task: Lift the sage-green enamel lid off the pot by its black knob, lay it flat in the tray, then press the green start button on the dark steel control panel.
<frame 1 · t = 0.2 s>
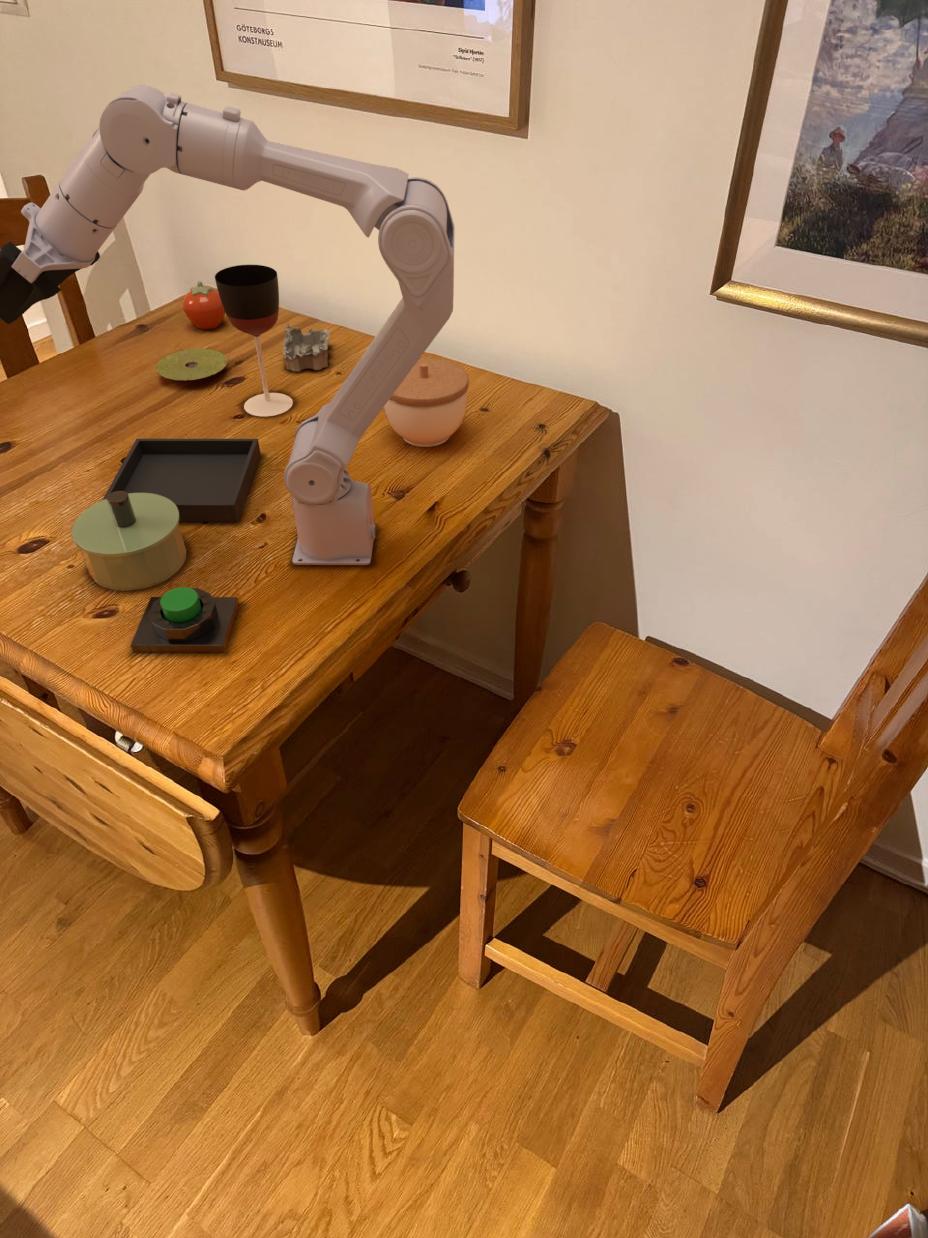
hand: (18, 301, 87), 31 cm above the table, tool tilted 45°, fingers open, 7 cm apart
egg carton: (308, 358, 146), on the table
tomato: (208, 326, 156), on the table
lidded bowl: (426, 435, 127), on the table
start button: (180, 604, 94), point 4 cm above the table, slide at 0.1 cm
wineglass: (268, 405, 134), on the table
lid: (127, 525, 102), point 5 cm above the table, touching pot
panel: (187, 628, 97), on the table
tray: (187, 487, 117), on the table
mat: (194, 375, 142), on the table
pot: (138, 560, 105), on the table
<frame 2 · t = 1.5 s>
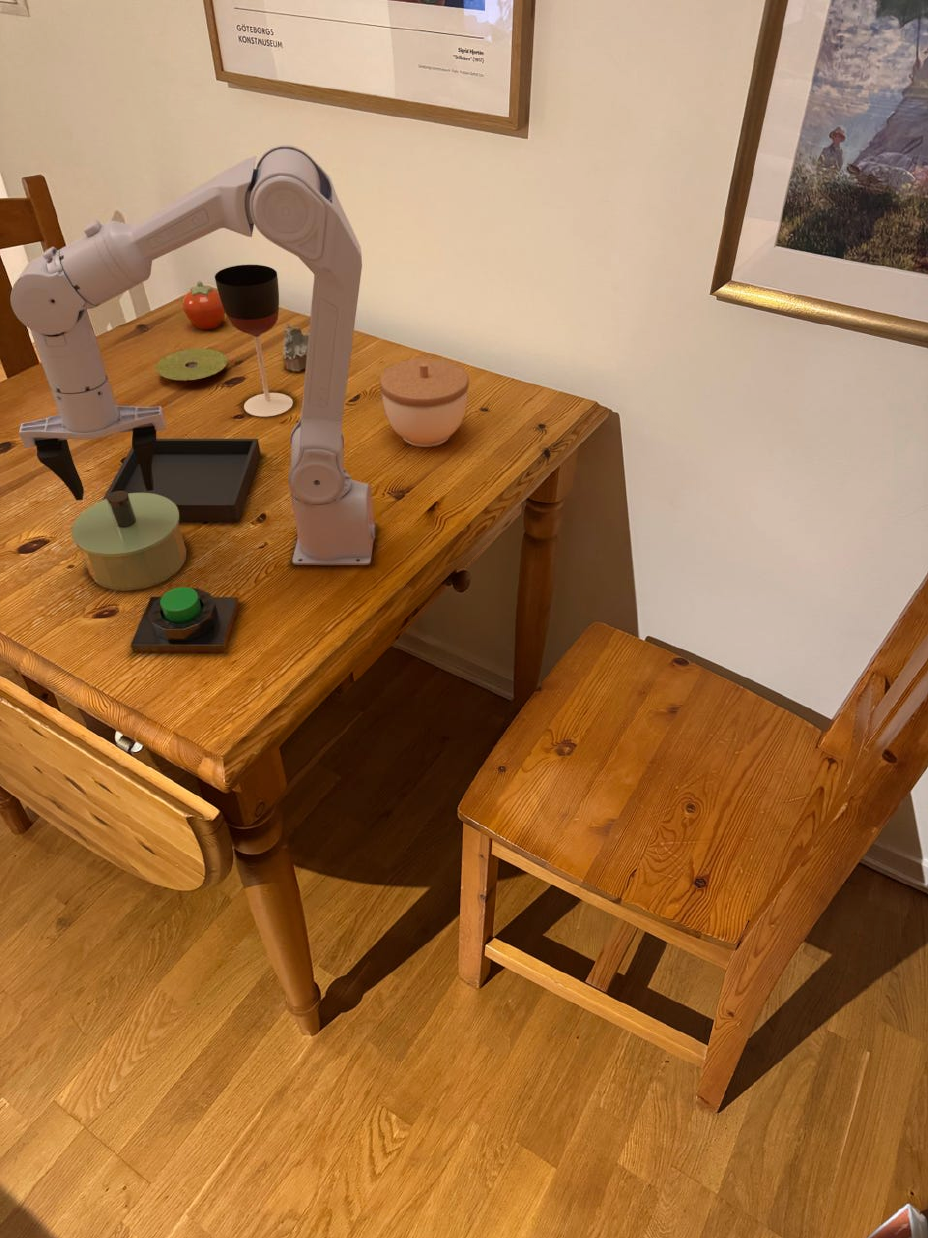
hand: (115, 490, 99), 10 cm above the table, tool pointing down, fingers open, 7 cm apart
nothing on the table moved.
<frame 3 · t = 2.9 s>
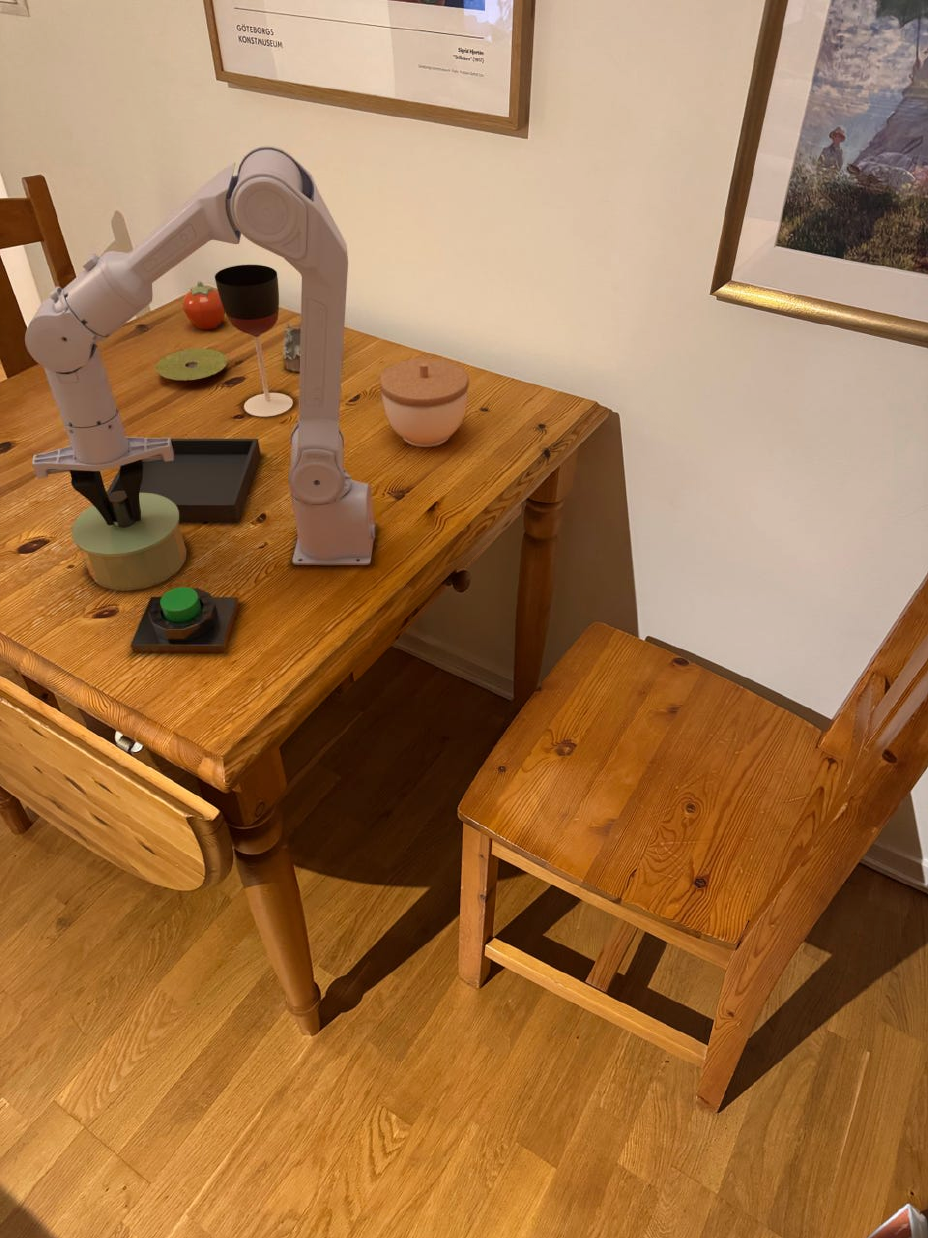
hand: (124, 518, 101), 6 cm above the table, tool pointing down, fingers closed on lid, 2 cm apart
lid: (126, 525, 102), point 5 cm above the table, touching gripper, pot
everything else where it was.
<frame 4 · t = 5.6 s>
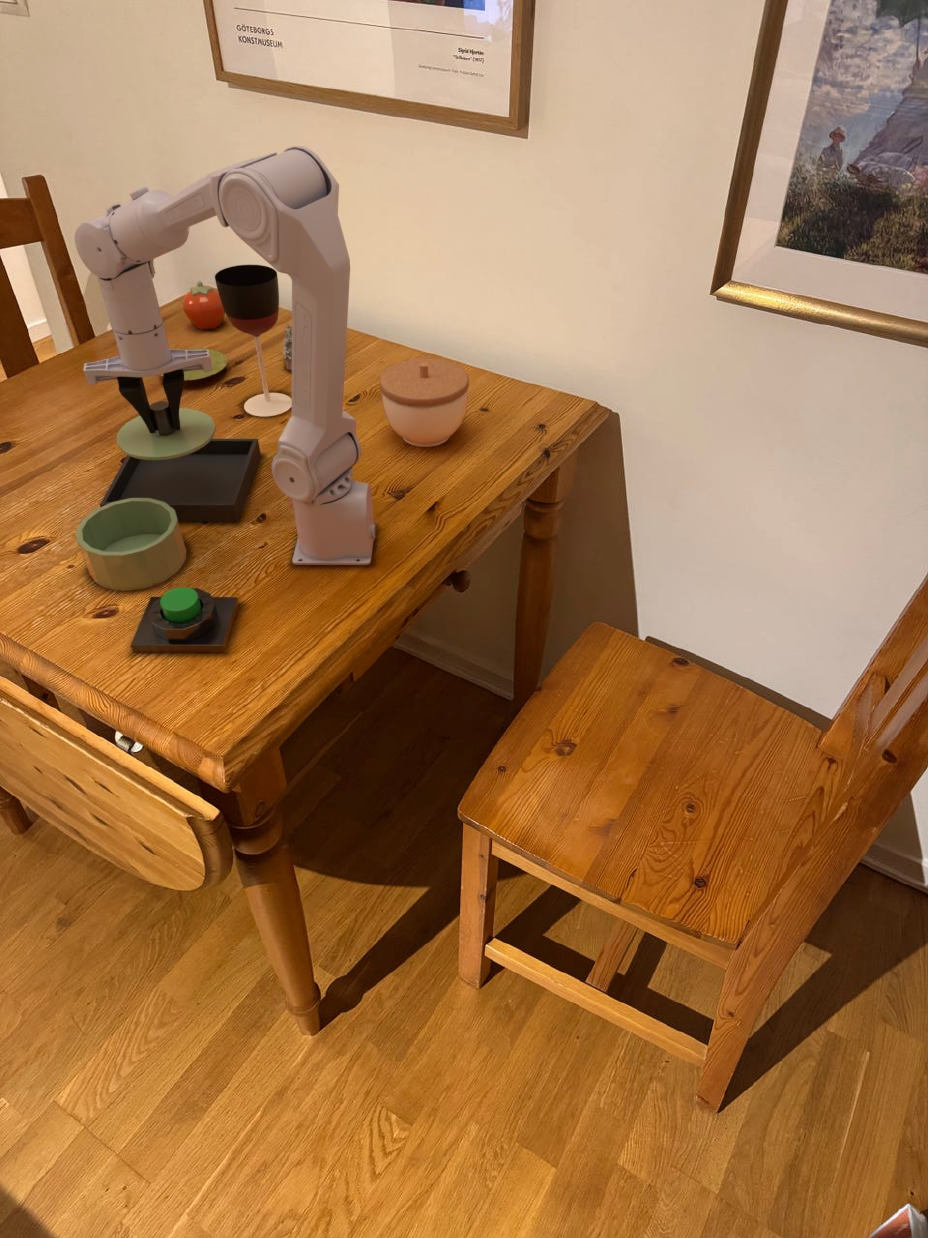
hand: (165, 427, 109), 10 cm above the table, tool pointing down, fingers closed on lid, 2 cm apart
lid: (167, 434, 110), point 9 cm above the table, touching gripper
everything else where it was.
when the fingers open (2 cm above the table, at t = 8.1 s): lid stays where it is, resting on tray.
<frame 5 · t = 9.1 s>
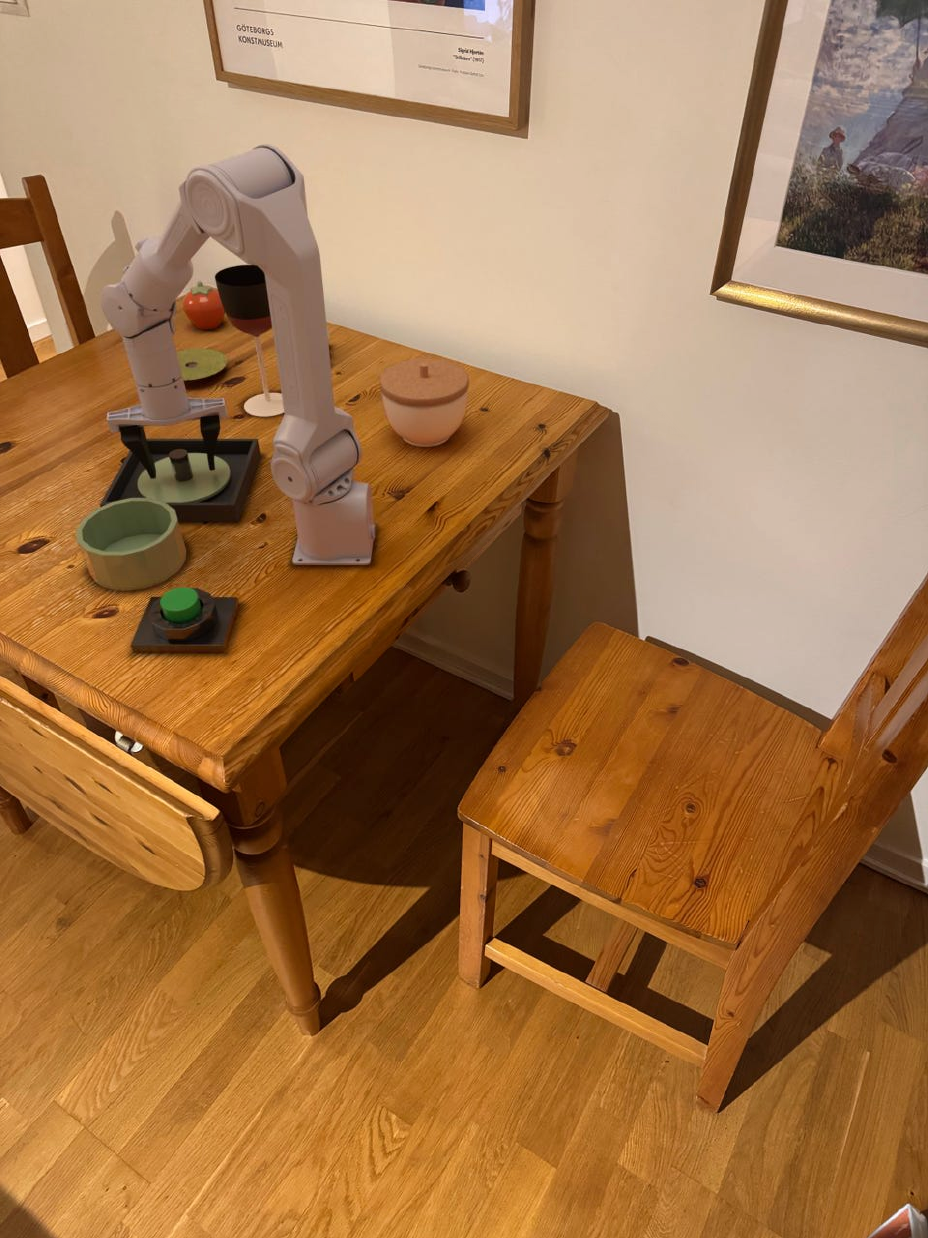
hand: (182, 470, 115), 3 cm above the table, tool pointing down, fingers open, 7 cm apart
lid: (185, 479, 116), point 1 cm above the table, touching tray
everything else where it was.
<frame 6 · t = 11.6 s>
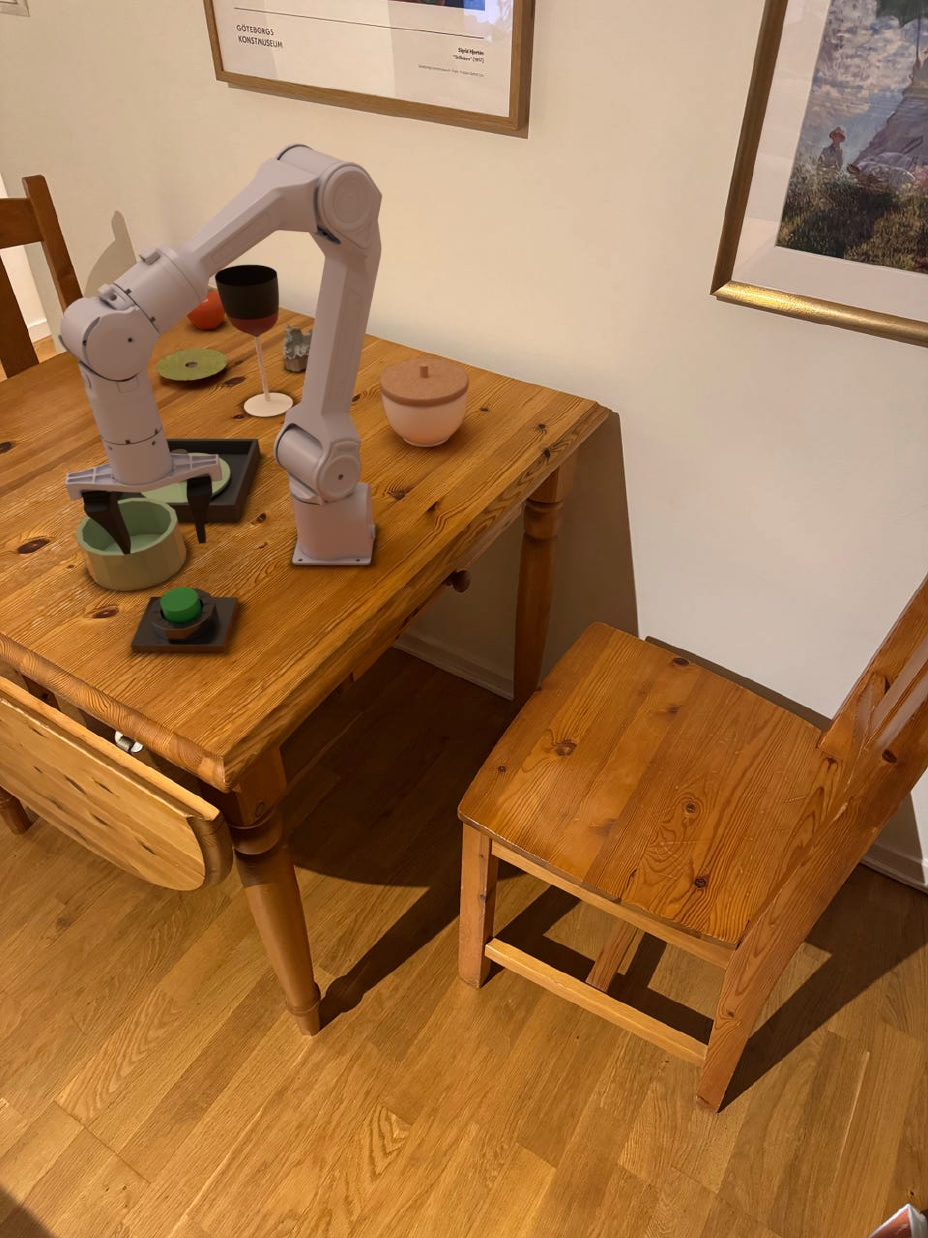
hand: (165, 543, 91), 10 cm above the table, tool pointing down, fingers open, 7 cm apart
nothing on the table moved.
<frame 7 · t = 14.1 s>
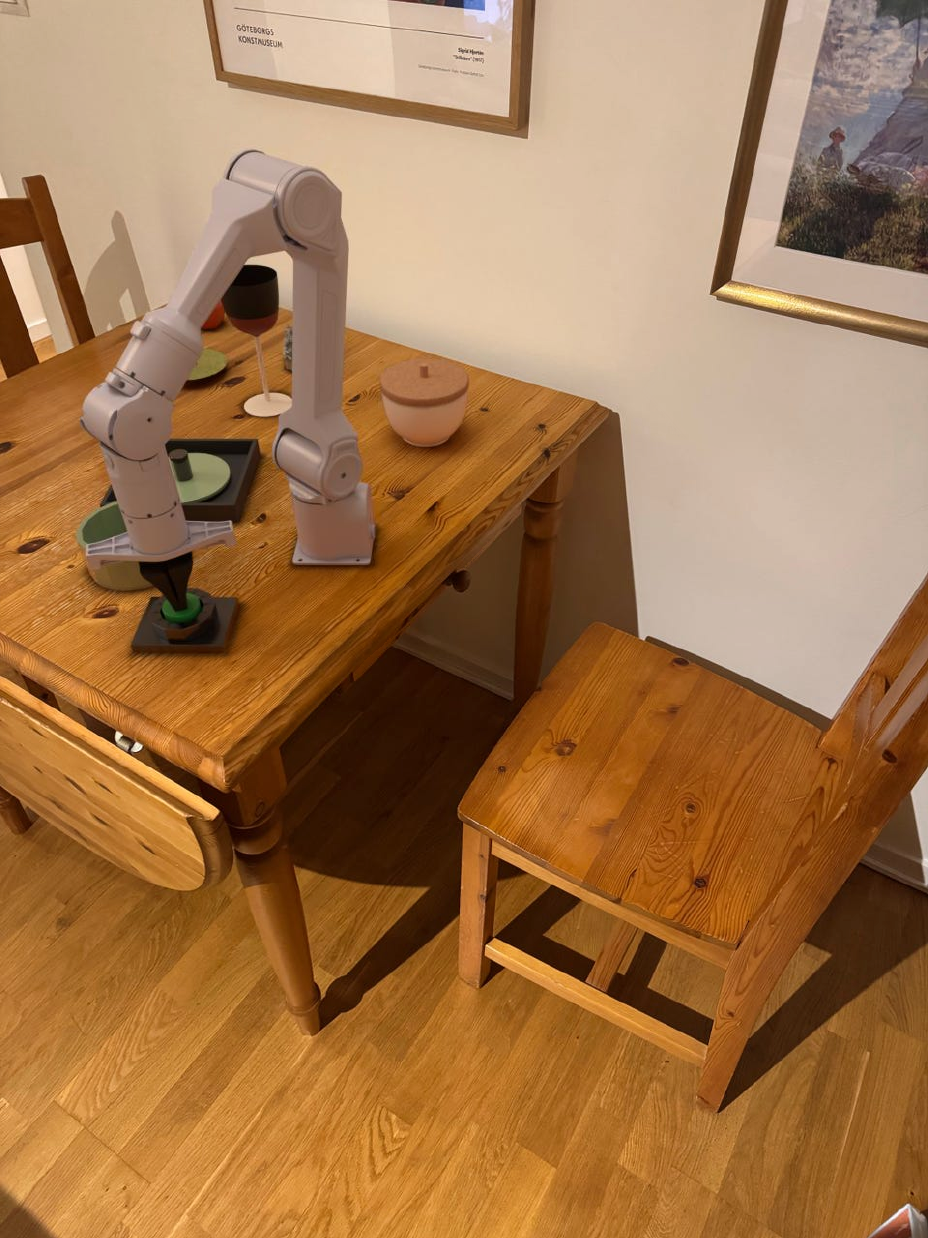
hand: (180, 604, 94), 3 cm above the table, tool pointing down, fingers closed, pressing on start button
start button: (182, 610, 95), point 3 cm above the table, slide at -0.7 cm, touching gripper
everything else where it was.
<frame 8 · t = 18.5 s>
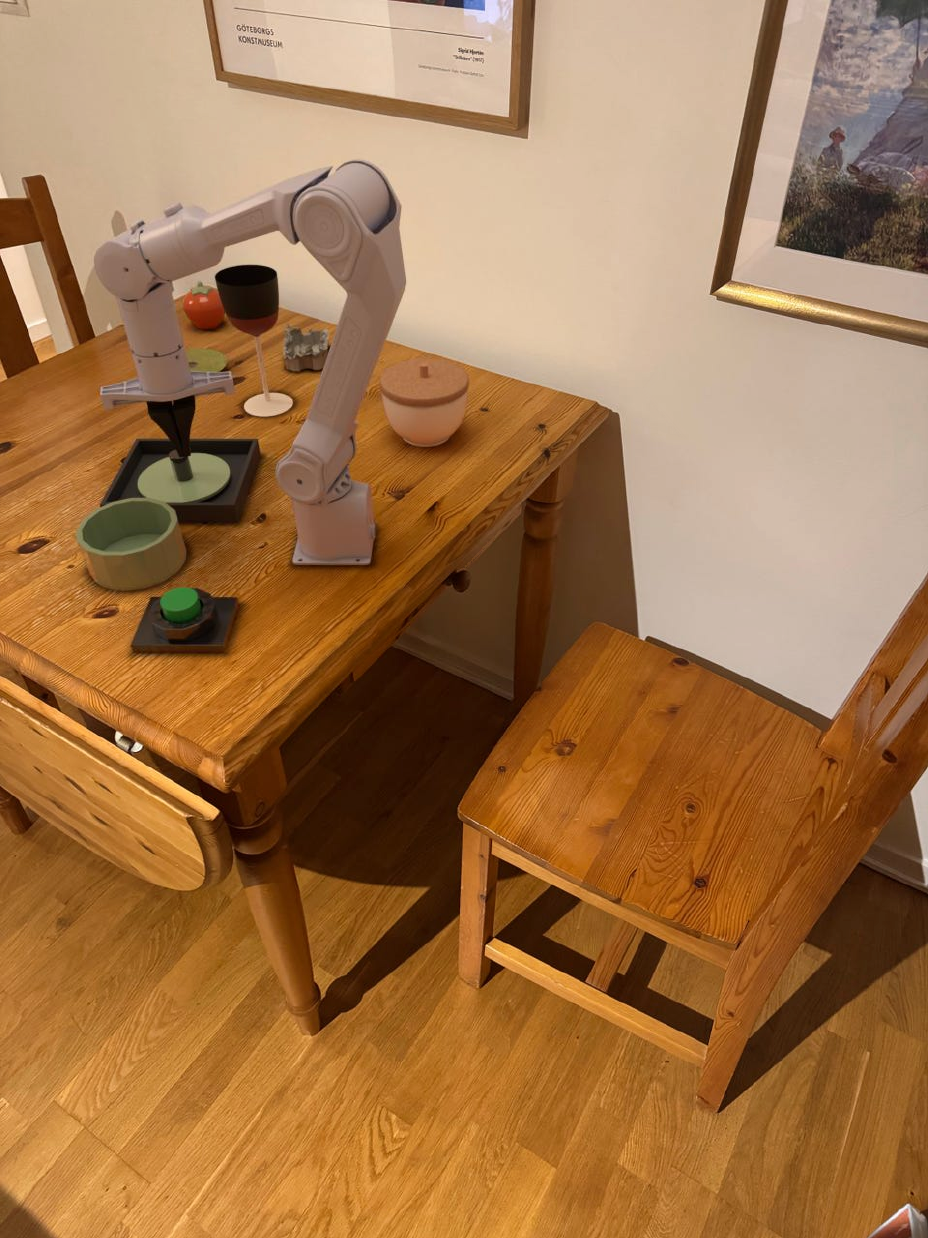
hand: (184, 452, 104), 10 cm above the table, tool pointing down, fingers closed
start button: (180, 604, 94), point 4 cm above the table, slide at 0.1 cm
everything else where it was.
at the end: lid 0.0 cm off-centre in the tray, point 1.2 cm above the tray's base; start button pushed in 1.1 cm at the most during the clip, back to where it started at the end; start button slide at 0.1 cm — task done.
